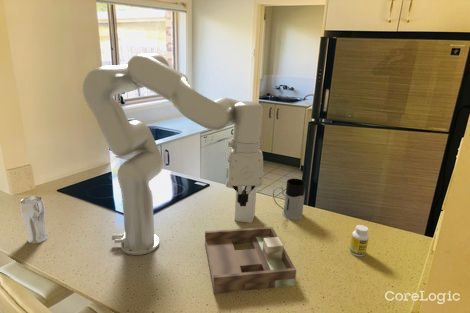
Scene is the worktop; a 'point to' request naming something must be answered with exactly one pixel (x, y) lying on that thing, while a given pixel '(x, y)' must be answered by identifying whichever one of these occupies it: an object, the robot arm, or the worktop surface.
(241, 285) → the box
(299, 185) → the white and black mug
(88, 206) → the worktop surface
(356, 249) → the supplement bottle
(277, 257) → the block
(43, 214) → the beer glass
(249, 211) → the milk carton
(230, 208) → the worktop surface
